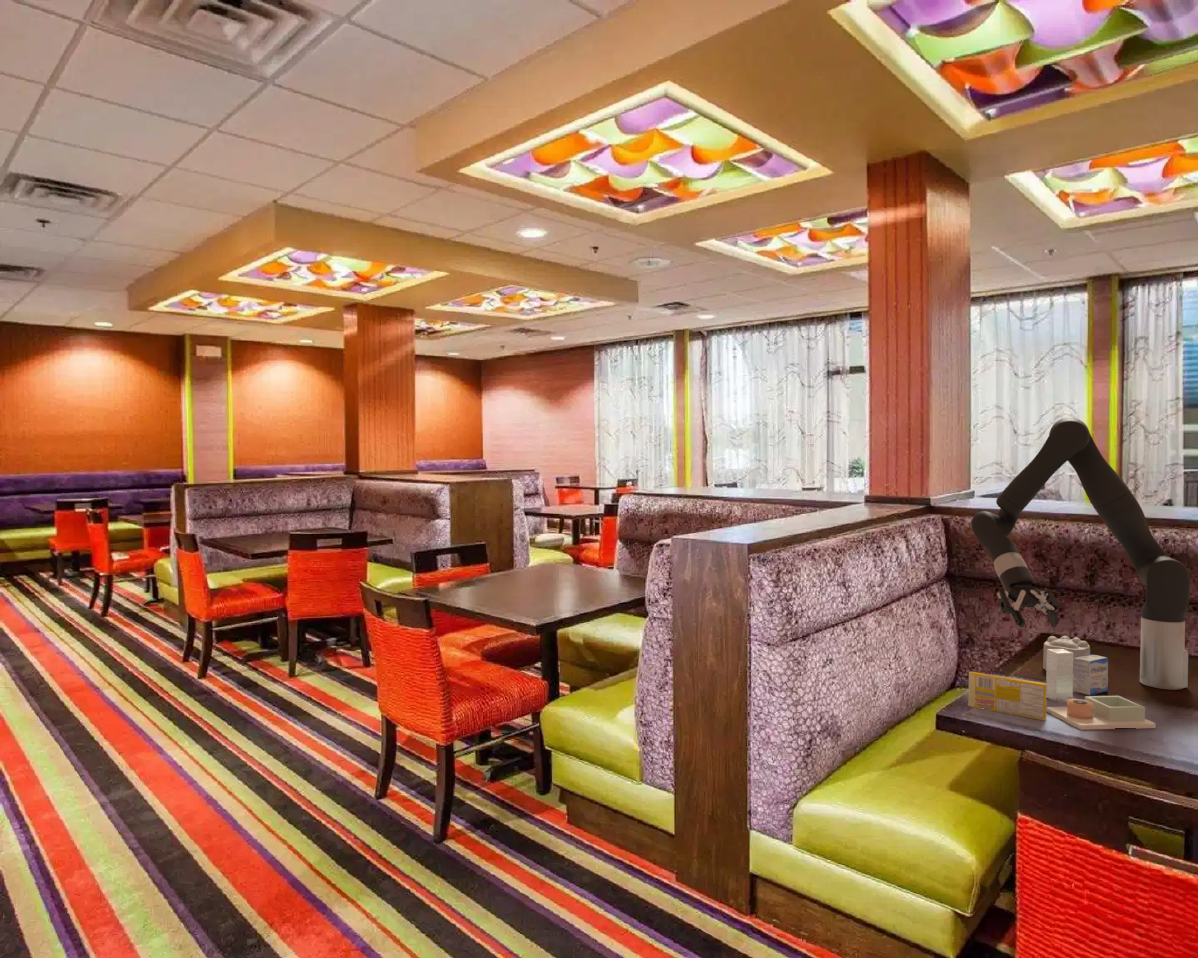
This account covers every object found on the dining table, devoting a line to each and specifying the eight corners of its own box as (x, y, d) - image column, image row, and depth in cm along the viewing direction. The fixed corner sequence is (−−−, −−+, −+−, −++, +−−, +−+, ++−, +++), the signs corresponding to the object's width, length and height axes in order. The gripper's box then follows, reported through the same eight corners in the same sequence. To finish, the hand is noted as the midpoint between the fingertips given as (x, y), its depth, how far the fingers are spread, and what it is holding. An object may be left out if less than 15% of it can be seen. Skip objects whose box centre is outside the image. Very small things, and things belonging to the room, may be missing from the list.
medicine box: (1089, 696, 192) (1090, 661, 192) (1071, 691, 196) (1072, 657, 196) (1108, 691, 196) (1108, 657, 196) (1090, 686, 200) (1090, 653, 200)
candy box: (1046, 719, 176) (1047, 683, 176) (1044, 721, 174) (1045, 685, 174) (970, 704, 186) (970, 670, 186) (967, 706, 185) (968, 672, 185)
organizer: (1116, 709, 182) (1116, 692, 182) (1155, 727, 170) (1155, 709, 170) (1045, 711, 181) (1046, 693, 181) (1080, 729, 169) (1080, 711, 169)
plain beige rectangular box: (1061, 697, 191) (1062, 648, 191) (1072, 702, 187) (1073, 652, 187) (1046, 697, 191) (1046, 649, 191) (1056, 702, 187) (1057, 653, 187)
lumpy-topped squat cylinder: (1039, 670, 215) (1040, 639, 215) (1053, 661, 225) (1053, 631, 224) (1082, 677, 208) (1083, 645, 208) (1094, 667, 217) (1095, 637, 217)
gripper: (993, 565, 205) (1018, 617, 194) (1045, 564, 206) (1073, 617, 195) (982, 582, 211) (1005, 633, 199) (1033, 581, 211) (1059, 633, 200)
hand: (1039, 625), depth 197 cm, fingers open, 8 cm apart
